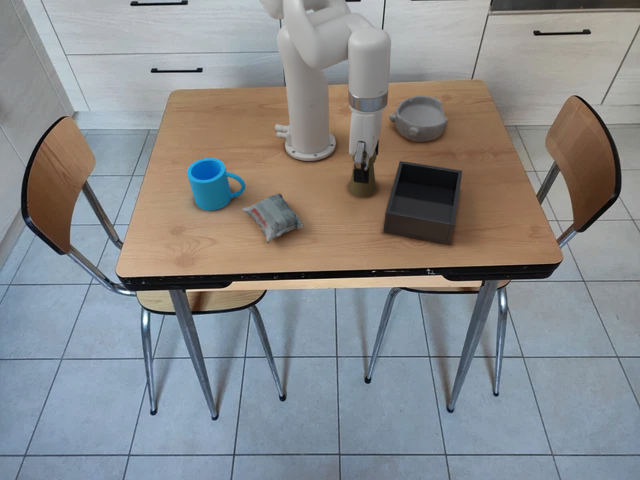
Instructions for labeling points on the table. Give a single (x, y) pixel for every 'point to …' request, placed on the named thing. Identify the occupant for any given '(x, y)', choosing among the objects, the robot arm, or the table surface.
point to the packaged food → (274, 216)
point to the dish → (420, 118)
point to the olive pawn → (362, 188)
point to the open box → (423, 202)
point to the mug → (212, 183)
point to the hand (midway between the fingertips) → (366, 167)
